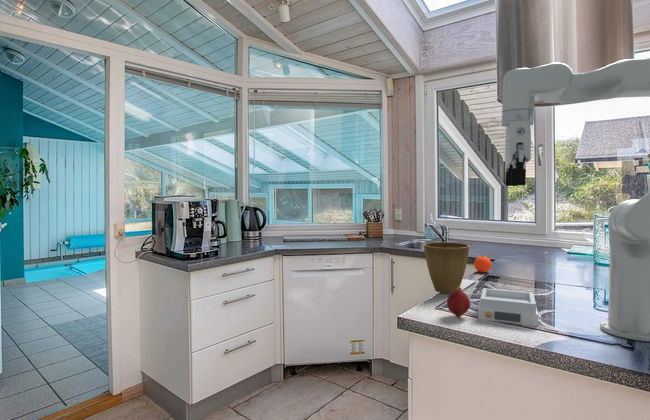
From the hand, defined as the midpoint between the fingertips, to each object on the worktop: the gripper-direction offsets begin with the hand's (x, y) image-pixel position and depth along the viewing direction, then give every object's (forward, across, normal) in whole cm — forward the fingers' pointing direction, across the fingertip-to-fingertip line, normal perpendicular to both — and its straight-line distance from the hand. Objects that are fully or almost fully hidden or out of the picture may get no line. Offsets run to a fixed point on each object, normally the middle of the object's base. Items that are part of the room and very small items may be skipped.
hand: (514, 185), depth 103 cm
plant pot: (+36, +27, +16) cm, 48 cm away
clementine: (+36, +66, +1) cm, 75 cm away
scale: (+35, +3, 0) cm, 35 cm away
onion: (+36, -2, +13) cm, 38 cm away
